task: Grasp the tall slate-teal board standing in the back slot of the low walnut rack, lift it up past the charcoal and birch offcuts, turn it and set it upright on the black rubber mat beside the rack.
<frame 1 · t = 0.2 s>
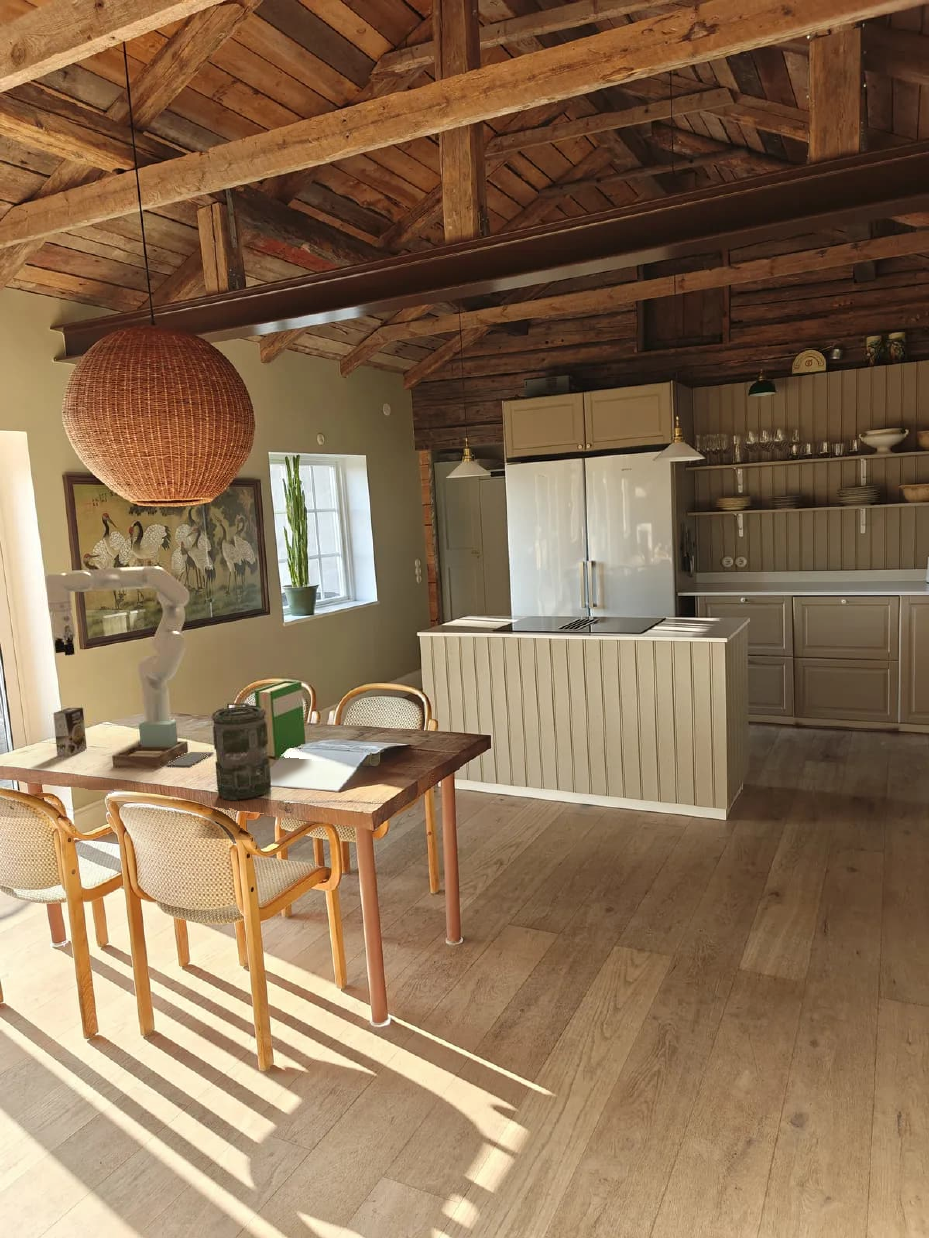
hand: (65, 653, 316), 37 cm above the table, tool pointing down, fingers open, 9 cm apart
offcut upper: (145, 759, 303), point 1 cm above the table, touching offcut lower
canister: (245, 793, 264), on the table
mat: (190, 760, 304), on the table
coffee box: (72, 752, 321), on the table
rack: (151, 759, 306), on the table
sheet: (160, 755, 312), on the table
hardback book: (283, 752, 310), on the table
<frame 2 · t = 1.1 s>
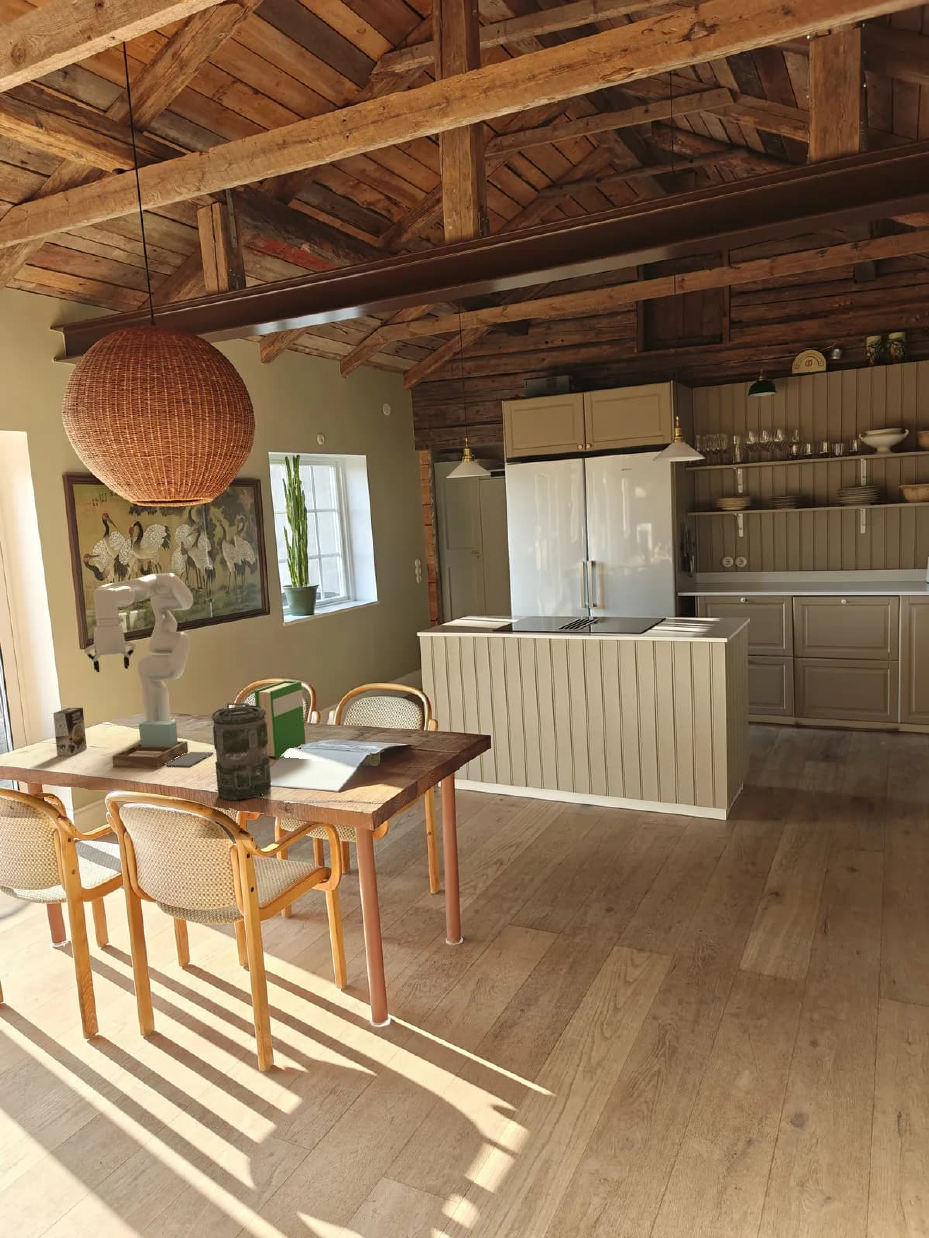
hand: (112, 670, 312), 31 cm above the table, tool pointing down, fingers open, 9 cm apart
nothing on the table moved.
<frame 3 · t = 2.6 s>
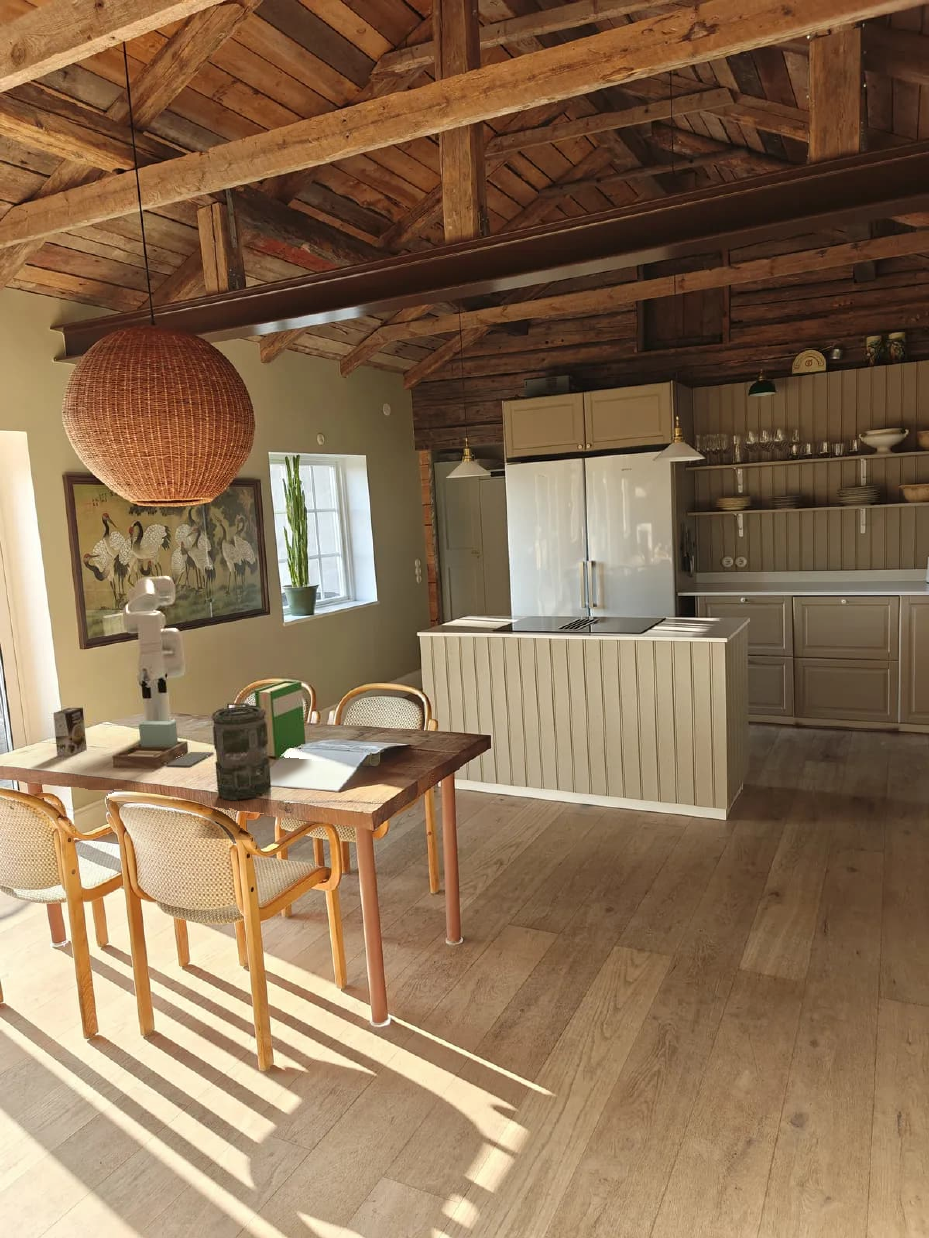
hand: (155, 695, 309), 22 cm above the table, tool pointing down, fingers open, 9 cm apart
nothing on the table moved.
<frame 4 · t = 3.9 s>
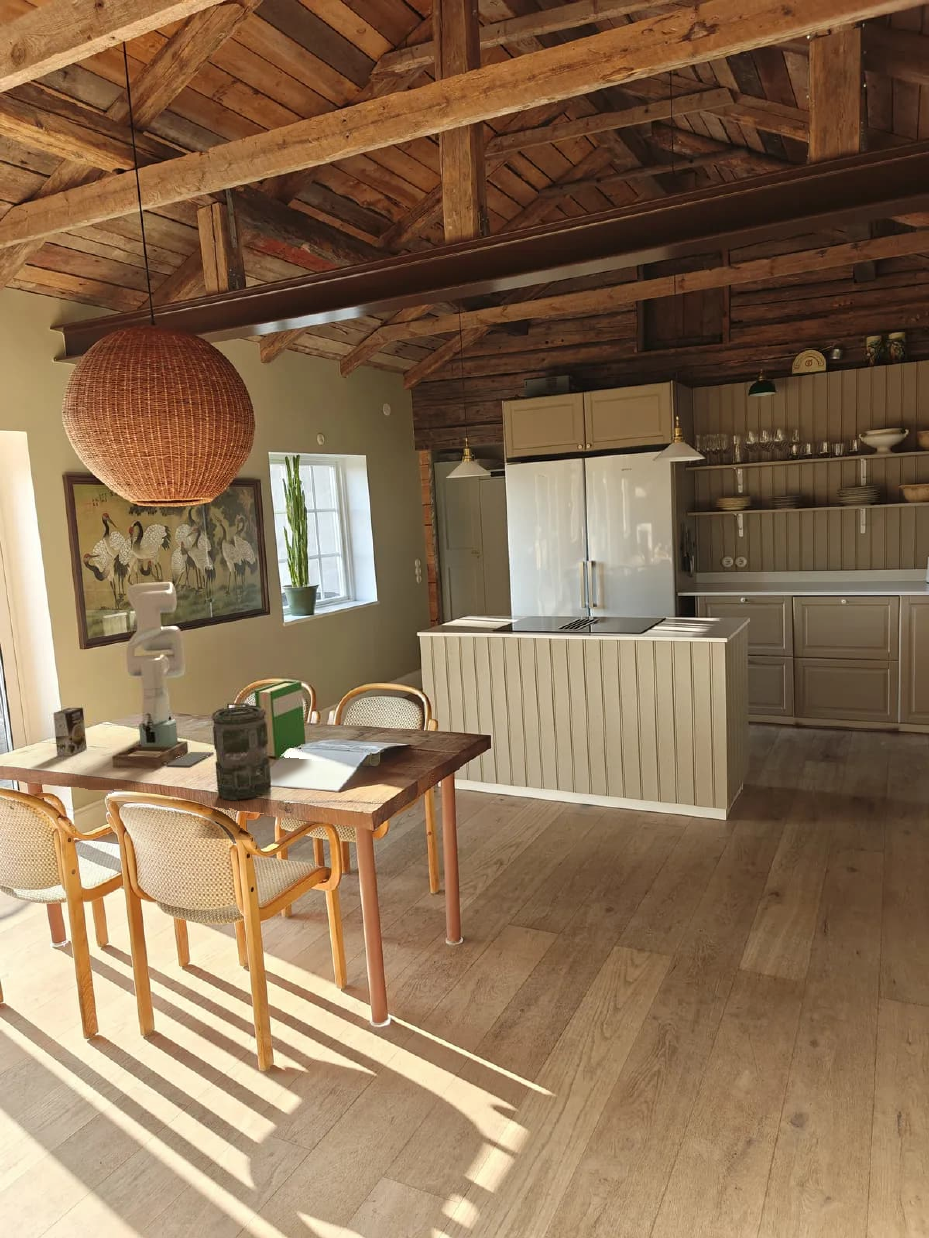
hand: (158, 739, 311), 6 cm above the table, tool pointing down, fingers open, 9 cm apart
nothing on the table moved.
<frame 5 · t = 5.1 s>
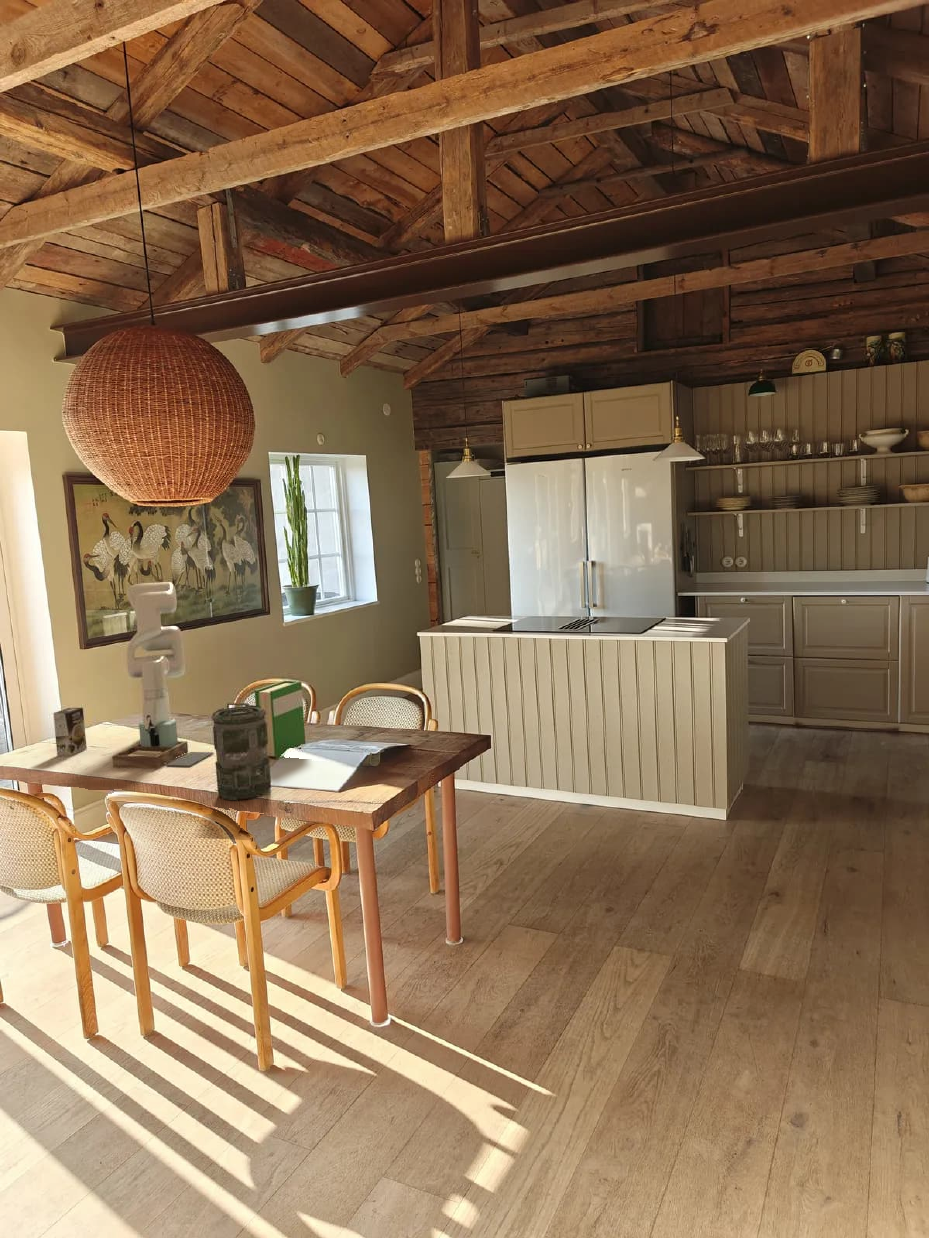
hand: (159, 743, 311), 4 cm above the table, tool pointing down, fingers closed on sheet, 4 cm apart
sheet: (160, 755, 312), on the table, touching gripper
everything else where it was.
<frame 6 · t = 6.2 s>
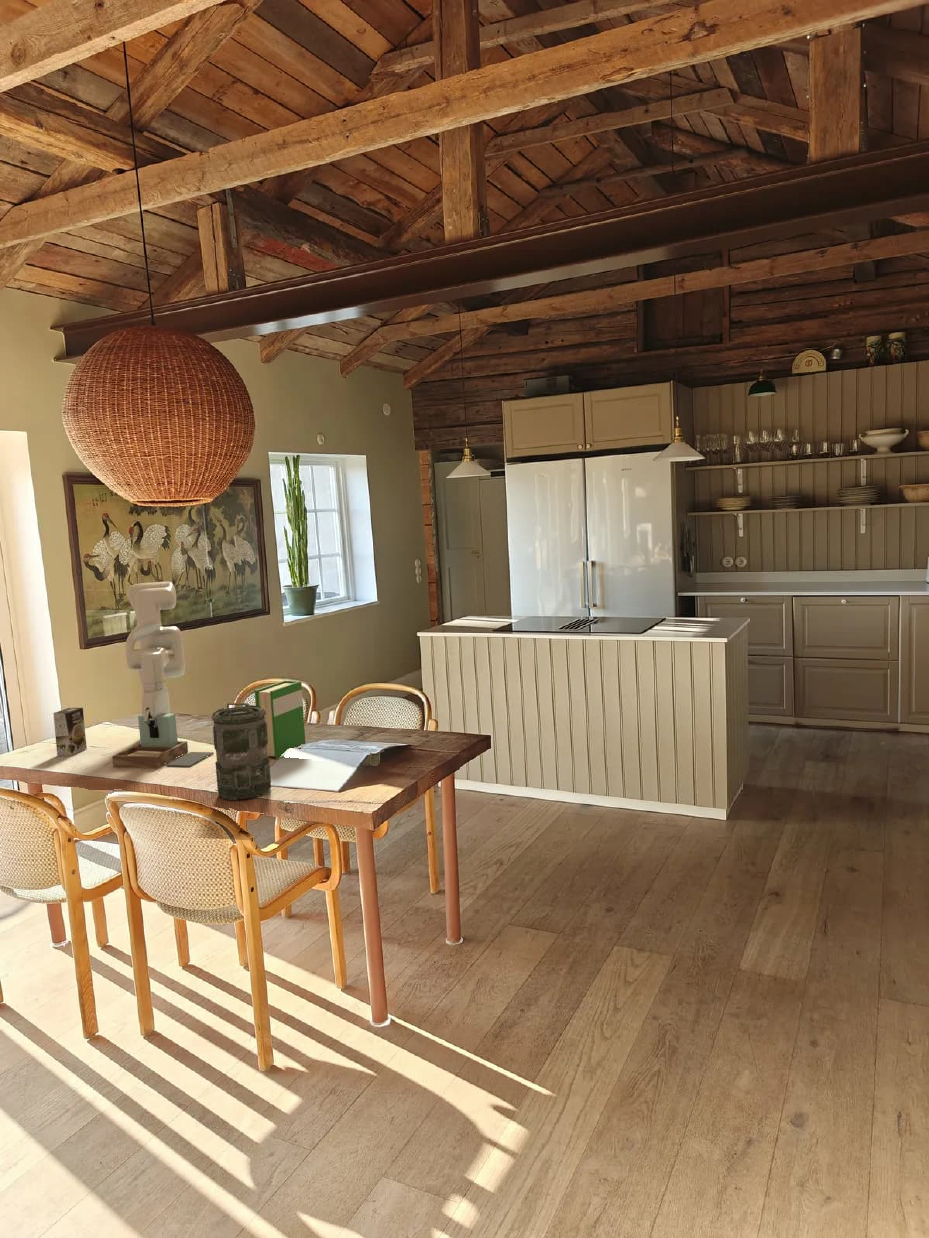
hand: (158, 735, 311), 7 cm above the table, tool pointing down, fingers closed on sheet, 4 cm apart
sheet: (159, 747, 312), point 3 cm above the table, touching gripper
everything else where it was.
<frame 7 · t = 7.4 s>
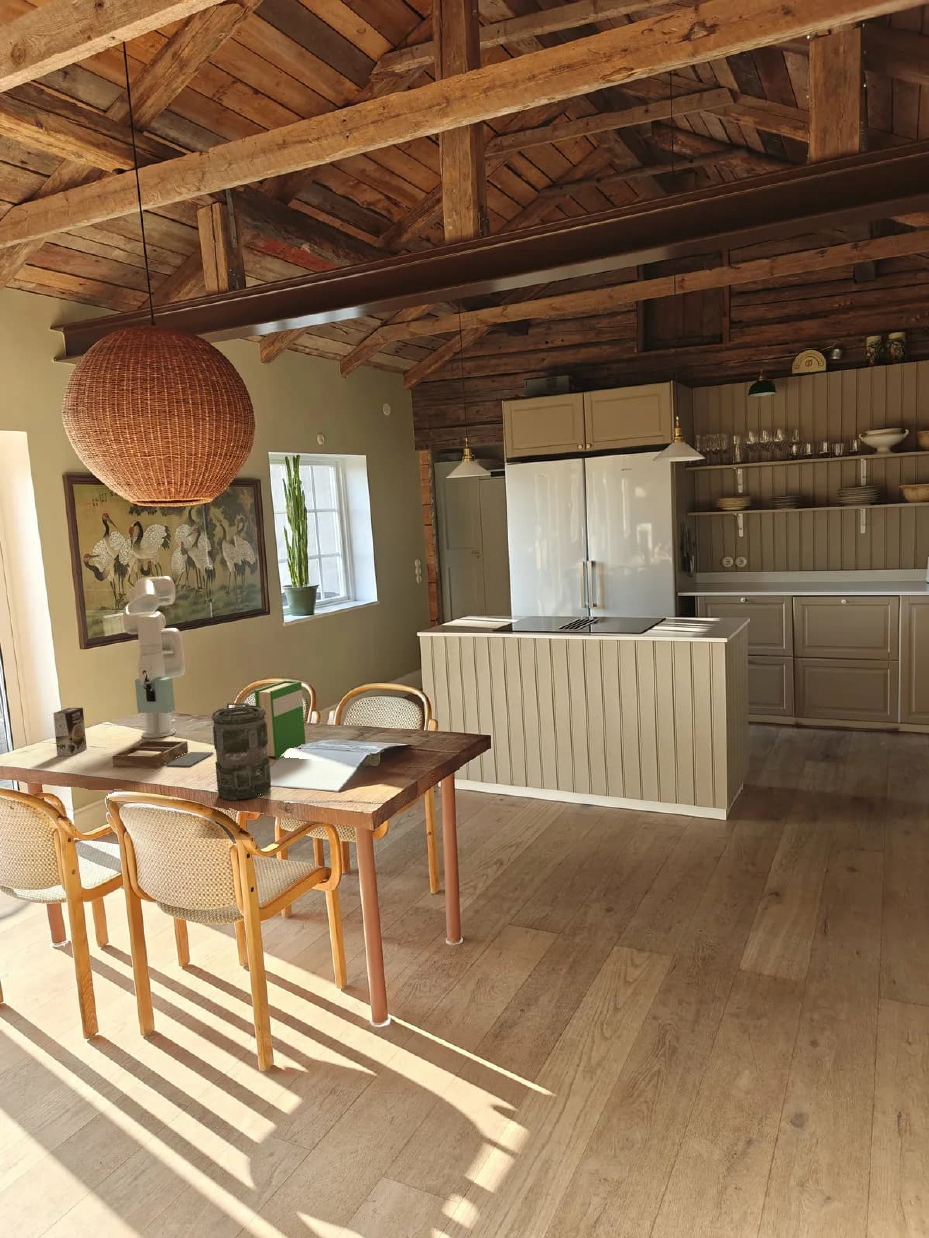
hand: (155, 699, 310), 20 cm above the table, tool pointing down, fingers closed on sheet, 4 cm apart
sheet: (156, 711, 310), point 16 cm above the table, touching gripper
everything else where it was.
when the fingers open (6 cm above the table, at t = 13.1 s): sheet stays where it is, resting on mat.
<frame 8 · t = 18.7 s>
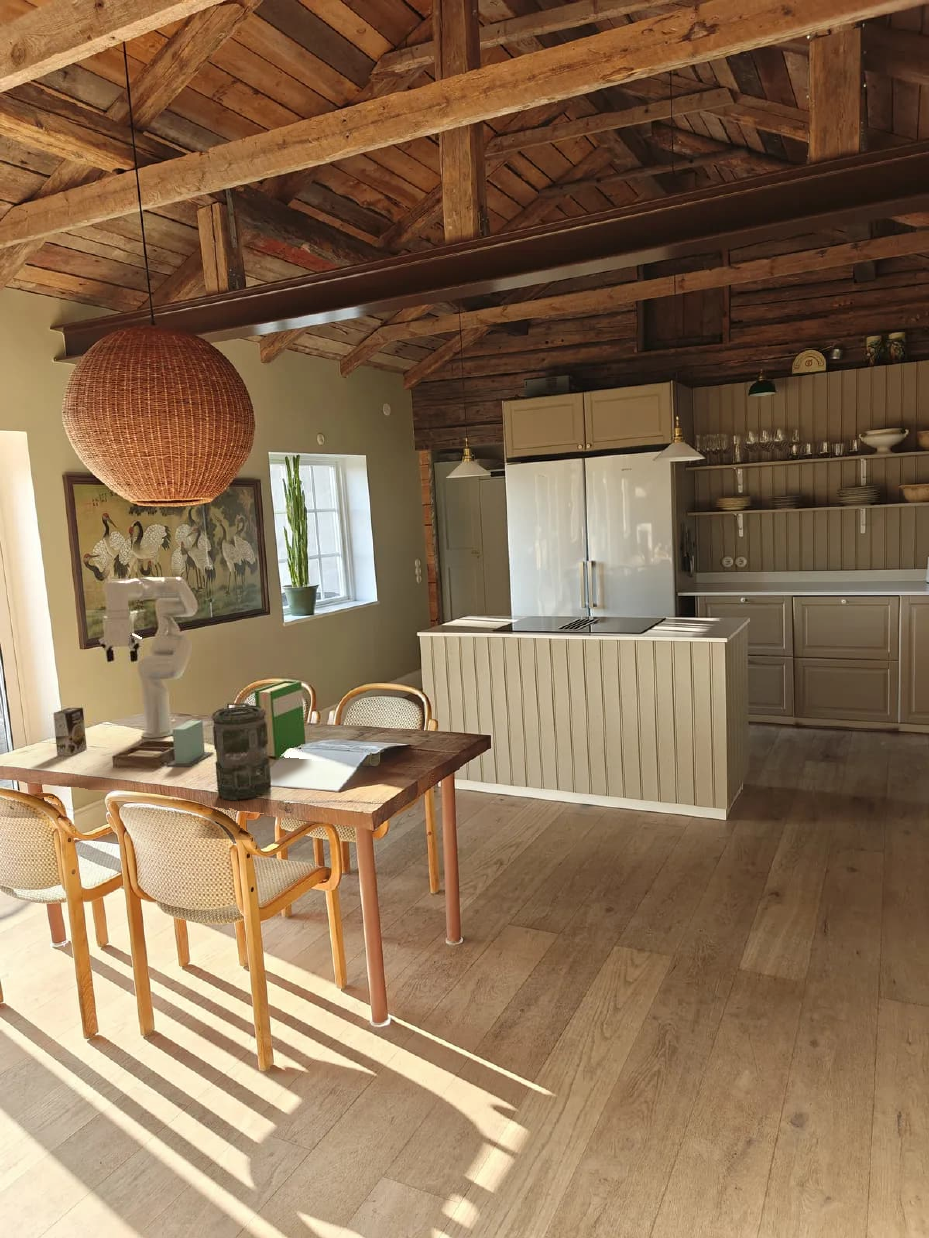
hand: (122, 661, 317), 33 cm above the table, tool pointing down, fingers open, 9 cm apart
sheet: (190, 758, 304), point 1 cm above the table, touching mat
everything else where it was.
at the end: sheet inside the target area (0.1 cm from its centre), point 0.6 cm above the table; sheet tilted 0°; offcut upper moved 0.9 cm from its start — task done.
